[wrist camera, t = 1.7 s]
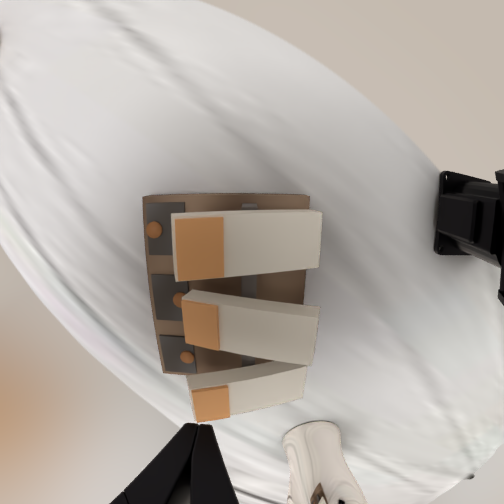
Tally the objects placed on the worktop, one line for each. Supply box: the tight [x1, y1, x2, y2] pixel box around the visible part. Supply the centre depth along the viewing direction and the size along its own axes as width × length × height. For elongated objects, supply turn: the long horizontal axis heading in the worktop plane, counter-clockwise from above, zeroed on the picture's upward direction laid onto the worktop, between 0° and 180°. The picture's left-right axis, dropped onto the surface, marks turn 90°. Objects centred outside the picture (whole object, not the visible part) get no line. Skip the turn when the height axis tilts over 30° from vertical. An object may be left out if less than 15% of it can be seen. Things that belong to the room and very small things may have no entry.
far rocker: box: [186, 361, 307, 423], centre depth 15 cm, size 7×3×1 cm, turn 89°
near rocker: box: [171, 209, 322, 282], centre depth 13 cm, size 7×3×1 cm, turn 89°
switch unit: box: [143, 193, 310, 375], centre depth 17 cm, size 10×13×4 cm
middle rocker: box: [181, 289, 320, 366], centre depth 14 cm, size 7×3×1 cm, turn 90°
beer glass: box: [282, 421, 368, 504], centre depth 16 cm, size 7×7×15 cm
